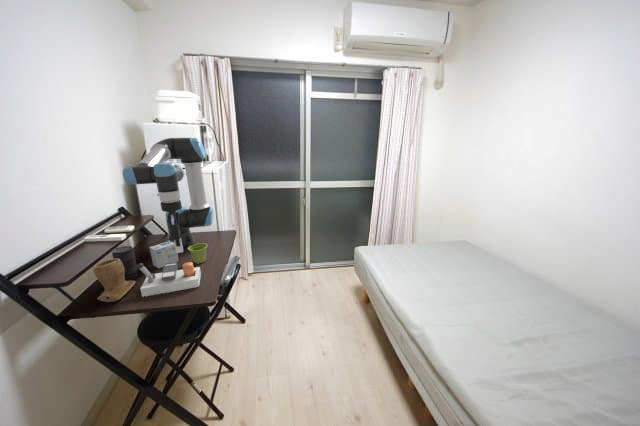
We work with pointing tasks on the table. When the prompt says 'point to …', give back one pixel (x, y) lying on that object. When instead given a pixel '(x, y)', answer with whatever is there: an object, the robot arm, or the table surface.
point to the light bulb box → (163, 254)
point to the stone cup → (112, 279)
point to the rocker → (169, 271)
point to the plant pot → (198, 252)
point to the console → (170, 283)
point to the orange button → (188, 269)
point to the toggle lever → (144, 270)
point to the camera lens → (127, 261)
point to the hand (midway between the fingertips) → (179, 251)
